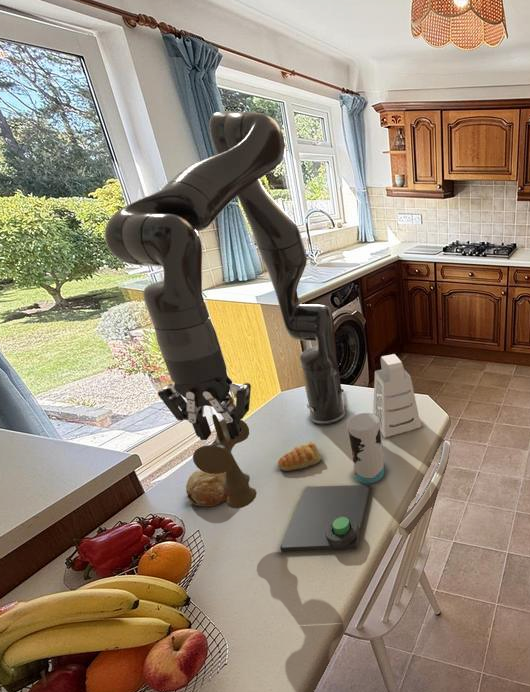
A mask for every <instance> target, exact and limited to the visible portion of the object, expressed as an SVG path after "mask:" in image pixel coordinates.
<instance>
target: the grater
mask: <svg viewBox="0 0 530 692" xmlns="http://www.w3.org/2000/svg"><path fill="white" fill-rule="evenodd" d="M380 367H381V369H377V370H375V371H374V383H373V408H372V414H374V415H376V416H377V417H378V418H379V425H380V433H381V434H382V436H383V437H384V438H388V437H391V436H395V435H398V434H402V433H405V432H408V431H412V430H415V429H419V428H421V427H422V424H421V419H420V414H419V411H418V405H417V400H416V396H415V391H414V385H413V381H412V376H411V375H410V374H409V373H408V372H407V371H406V370H405V368H404V365H403V362H402V360H401V359H400V358H399V357H398V356H397V355H396V353H392V354H388V355H382V356H380ZM409 421H410V422H409ZM405 422H407V423H405ZM402 423H404V424H402ZM395 425H397V426H395ZM392 426H394V427H392Z"/></svg>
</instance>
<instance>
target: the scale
mask: <svg viewBox="0 0 530 692" xmlns="http://www.w3.org/2000/svg"><path fill="white" fill-rule="evenodd" d="M371 489H372V488H371V485H370V484H355V485H351V484H350V485H324V486H321V485H319V486H306V487H305V490H304V492H303V493H302V496H301V498H300V501H299V503H298V505H297V508H296V510H295V513H294V515H293V517H292V519H291V522H290V524H289V526H288V529H287V531H286V534H285V535H284V538H283V540H282V543H281V545H280V547H279V548H280V552H281V553H285V552H286V553H288V552H289V553H290V552H310V551H311V552H313V551H336V550H337V551H338V550H355V549H358V544H359V541H360V536H361V531H362V528H363V524H364V519H365V514H366V510H367V506H368V502H369V497H370V493H371ZM340 517H346V518H347V519H348V520H349V524H350V530H349V531H348V532H347V533H346V534H344V535H340V536H339V535H336V534H335V533H334V530H333V522H334V521H335V520H336V519H337V518H340Z"/></svg>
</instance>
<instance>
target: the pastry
mask: <svg viewBox="0 0 530 692" xmlns="http://www.w3.org/2000/svg"><path fill="white" fill-rule="evenodd" d="M321 459H322V457H321V454H320V452H319V450H318V448H317V445H316V443H314V442H313V441H311V442H309V443H305V444H302V445H298V446H295V447H294V448H293V449H292V450H291V451H289V452H287V453H285V454H284V455H283V456H281V457H280V458H279V459H278V463H277V466H278V469H280V470H282V471H287V472H289V471H294V470H301V469H305V468H308V467H310V466H314V465H317V464H319V462H321Z"/></svg>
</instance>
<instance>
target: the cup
mask: <svg viewBox="0 0 530 692" xmlns="http://www.w3.org/2000/svg"><path fill="white" fill-rule="evenodd" d="M379 419H380V417H379V418H378V417H377V416H376V415H374V414H373V413H372V412H371V413H370V412H362V413H358V414H355V415H352V416H351V417H350V418H349V419H348V420H347V423H346V424H347V430H348V436H349V437H348V438H349V443H350V450H351V457H352V463H353V470H354V477H355V480H356V481H357V482H359V483H361V484H364V485H367V484H373V483H376V482H378V481H380V480H381V479H382V478H383V477H384V475H385V466H384V465H385V464H384V456H383V455H384V454H383V444H382V436H381V434H382V433H381V431H380V427H381V425H380V423H379Z"/></svg>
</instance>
